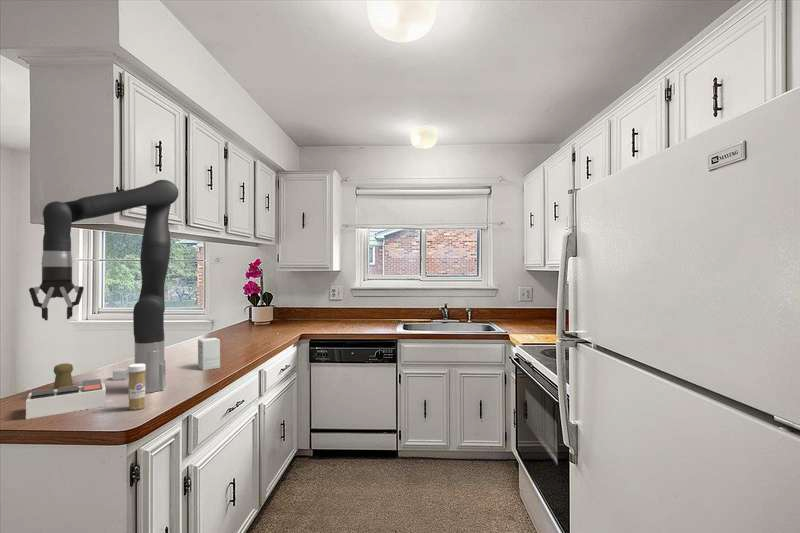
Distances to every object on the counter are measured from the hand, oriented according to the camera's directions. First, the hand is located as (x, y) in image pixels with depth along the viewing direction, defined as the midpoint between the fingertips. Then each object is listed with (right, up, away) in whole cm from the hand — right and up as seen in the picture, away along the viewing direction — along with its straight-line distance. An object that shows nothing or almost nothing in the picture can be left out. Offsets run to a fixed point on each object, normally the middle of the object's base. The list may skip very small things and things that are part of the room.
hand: (57, 319), depth 137 cm
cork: (-6, -28, +10) cm, 30 cm away
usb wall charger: (0, -28, +34) cm, 44 cm away
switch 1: (0, -22, -6) cm, 23 cm away
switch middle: (+5, -22, -2) cm, 23 cm away
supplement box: (+25, -28, +52) cm, 64 cm away
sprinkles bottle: (+27, -27, -3) cm, 38 cm away
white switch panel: (+5, -27, -2) cm, 28 cm away
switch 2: (+10, -22, +1) cm, 24 cm away
